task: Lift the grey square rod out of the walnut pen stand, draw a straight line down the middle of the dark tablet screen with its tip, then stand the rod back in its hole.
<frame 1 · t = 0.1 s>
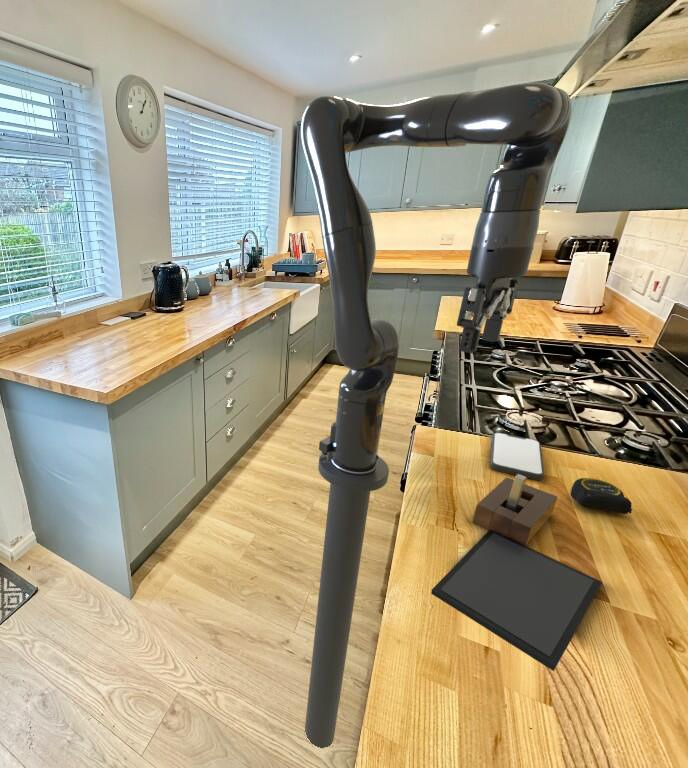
hand: (478, 346, 69), 30 cm above the table, tool pointing down, fingers open, 8 cm apart
tablet: (515, 590, 60), on the table
tape measure: (597, 507, 75), on the table
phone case: (514, 458, 91), on the table
pen stand: (511, 518, 74), on the table
grey square rod: (506, 525, 72), resting in pen stand
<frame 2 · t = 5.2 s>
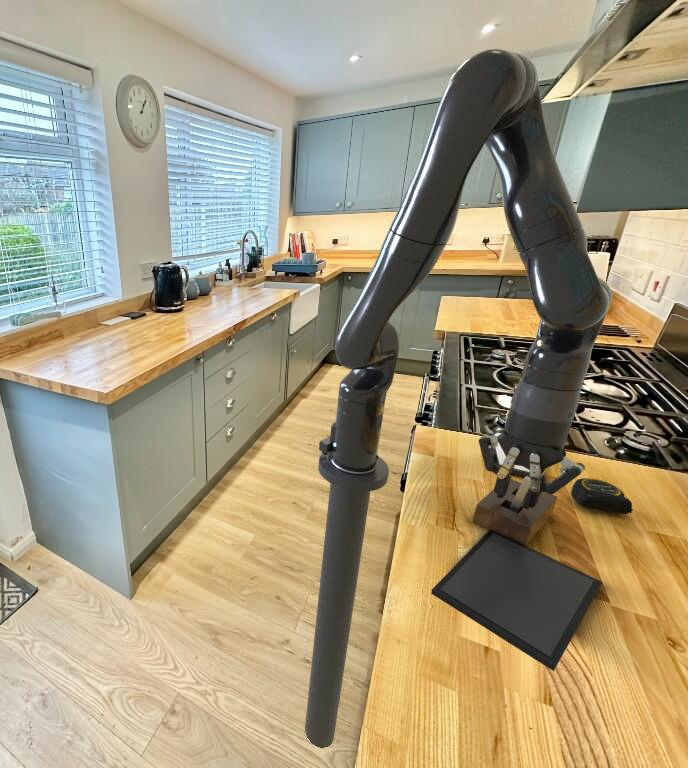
hand: (513, 500, 70), 5 cm above the table, tool pointing down, fingers open, 3 cm apart
grey square rod: (506, 524, 72), resting in pen stand, tilted 6°
everything else where it was.
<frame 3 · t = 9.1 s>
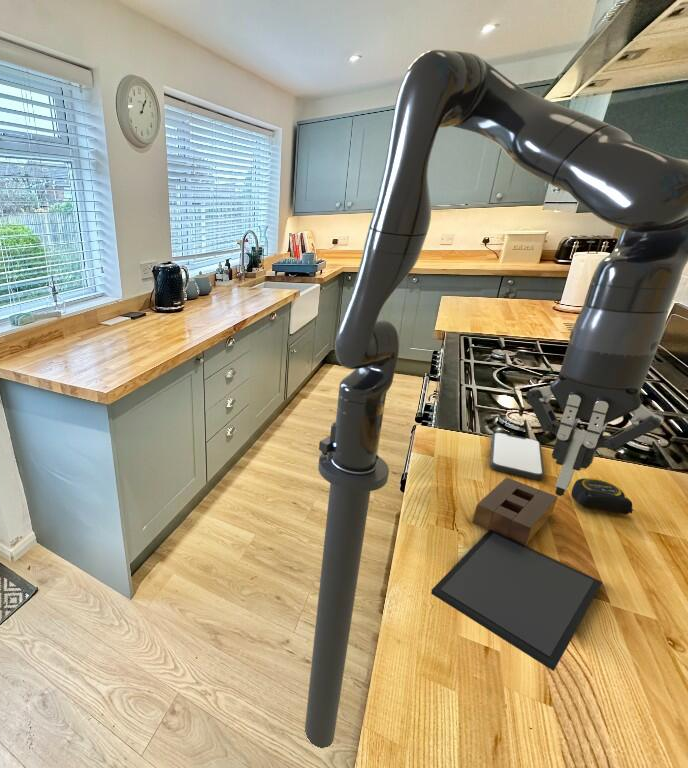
hand: (568, 464, 57), 18 cm above the table, tool pointing down, fingers closed on grey square rod, 1 cm apart
grey square rod: (558, 495, 59), point 13 cm above the table, touching gripper
everything else where it was.
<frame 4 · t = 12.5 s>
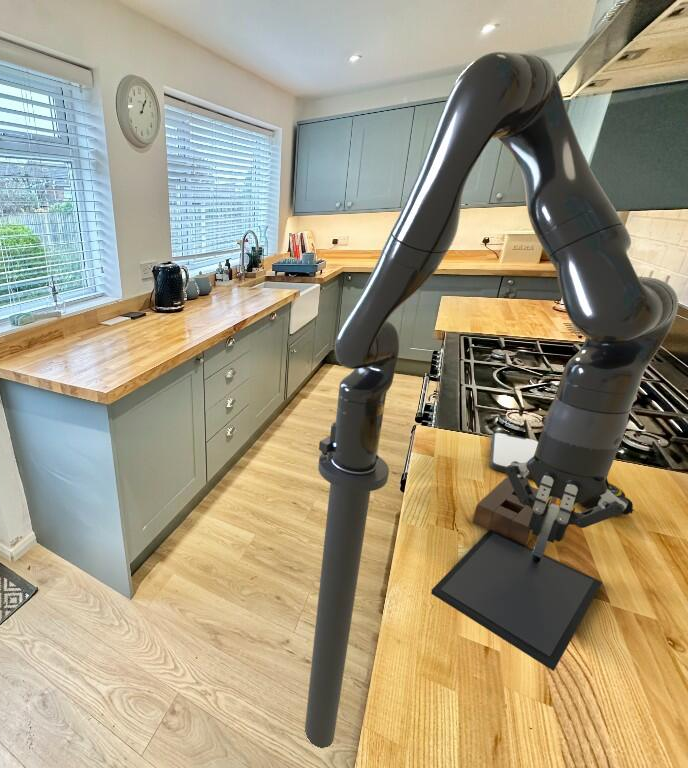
hand: (544, 535, 61), 6 cm above the table, tool pointing down, fingers closed on grey square rod, 1 cm apart
grey square rod: (535, 562, 63), point 1 cm above the table, touching gripper, tablet
everything else where it was.
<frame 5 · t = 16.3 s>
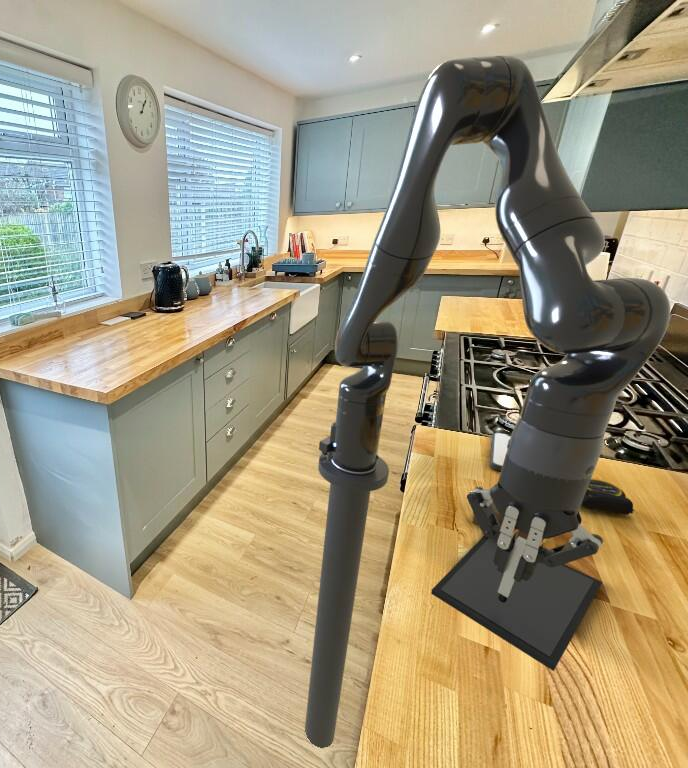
hand: (510, 572, 54), 8 cm above the table, tool pointing down, fingers closed on grey square rod, 1 cm apart
grey square rod: (501, 601, 56), point 3 cm above the table, touching gripper
everything else where it was.
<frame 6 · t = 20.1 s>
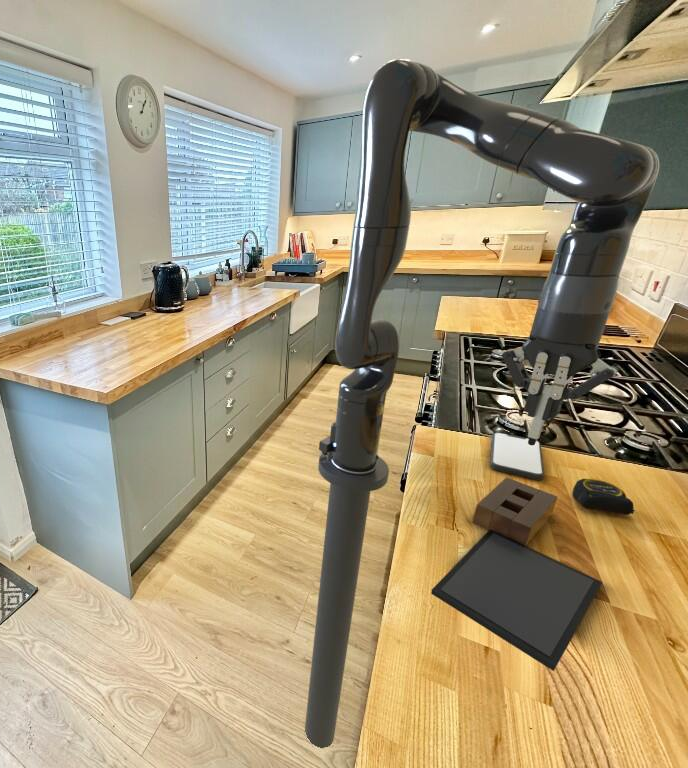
hand: (539, 416, 64), 21 cm above the table, tool pointing down, fingers closed on grey square rod, 1 cm apart
grey square rod: (530, 445, 66), point 16 cm above the table, touching gripper
everything else where it was.
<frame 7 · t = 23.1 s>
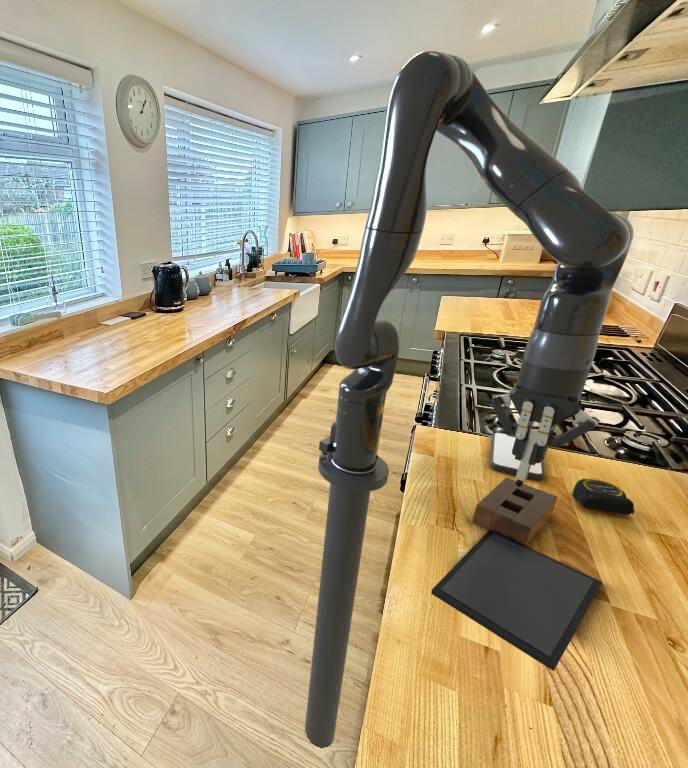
hand: (525, 460, 67), 13 cm above the table, tool pointing down, fingers closed on grey square rod, 1 cm apart
grey square rod: (518, 486, 69), point 8 cm above the table, touching gripper
everything else where it was.
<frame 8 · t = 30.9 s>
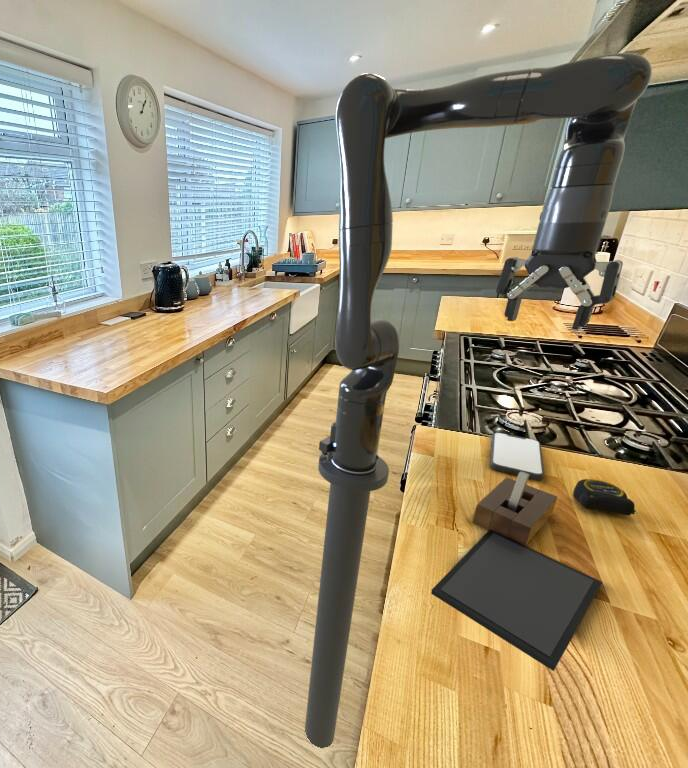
hand: (542, 324, 69), 33 cm above the table, tool pointing down, fingers open, 8 cm apart
grey square rod: (506, 525, 72), resting in pen stand, tilted 10°
everything else where it was.
at the end: grey square rod 0.0 cm from the target spot in the pen stand, point 0.0 cm above the pen stand's base; grey square rod tilted 10°; the gripper is holding nothing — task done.
